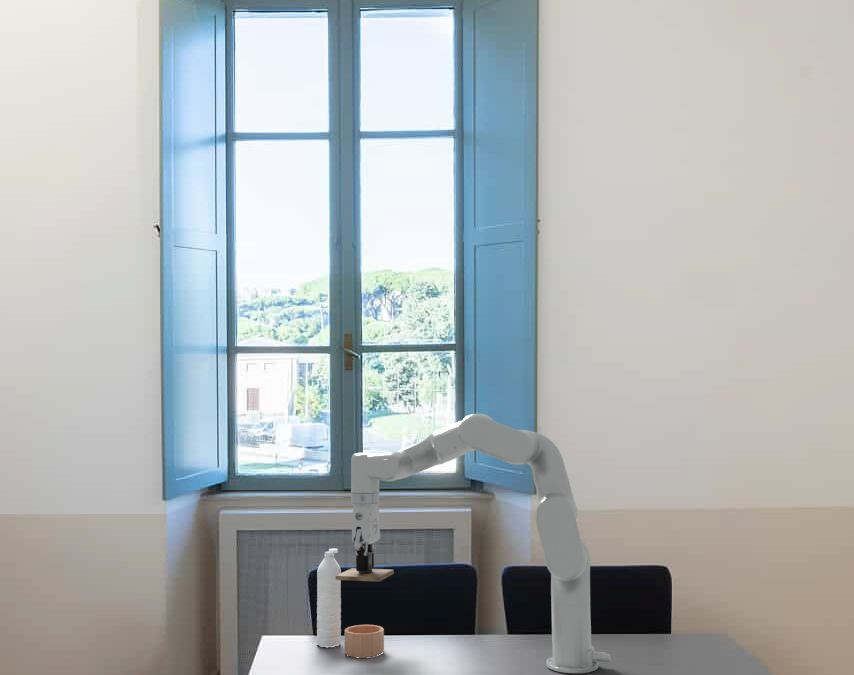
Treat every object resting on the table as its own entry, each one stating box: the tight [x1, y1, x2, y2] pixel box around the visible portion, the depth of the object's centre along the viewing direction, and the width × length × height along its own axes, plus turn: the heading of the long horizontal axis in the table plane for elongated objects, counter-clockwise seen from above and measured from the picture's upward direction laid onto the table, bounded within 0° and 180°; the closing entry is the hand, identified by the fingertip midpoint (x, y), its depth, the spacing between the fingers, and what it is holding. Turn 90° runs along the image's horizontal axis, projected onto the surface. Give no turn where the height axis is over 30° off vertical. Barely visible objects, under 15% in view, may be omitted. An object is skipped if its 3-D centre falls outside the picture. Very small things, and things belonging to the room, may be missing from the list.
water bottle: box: [316, 548, 342, 646], centre depth 230 cm, size 9×6×25 cm
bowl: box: [344, 624, 385, 659], centre depth 220 cm, size 10×10×6 cm
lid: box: [336, 552, 395, 583], centre depth 222 cm, size 12×12×6 cm
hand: (365, 568), depth 222 cm, fingers closed on lid, 3 cm apart
